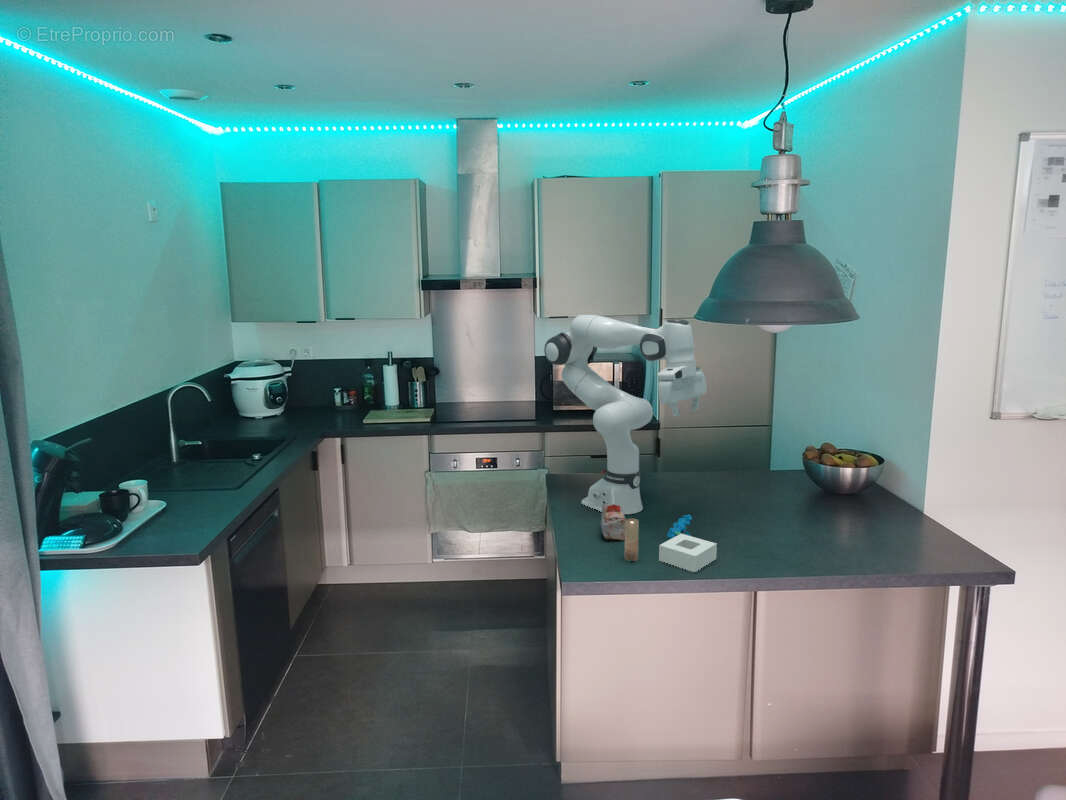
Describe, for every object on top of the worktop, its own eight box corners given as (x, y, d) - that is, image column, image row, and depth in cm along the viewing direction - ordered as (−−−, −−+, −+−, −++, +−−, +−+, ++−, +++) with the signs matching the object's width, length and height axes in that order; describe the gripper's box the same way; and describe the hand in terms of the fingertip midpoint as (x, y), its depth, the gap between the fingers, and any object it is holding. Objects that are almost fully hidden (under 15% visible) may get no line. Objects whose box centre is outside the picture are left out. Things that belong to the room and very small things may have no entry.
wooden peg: (621, 559, 212) (622, 520, 209) (629, 555, 214) (630, 517, 212) (632, 562, 209) (633, 524, 207) (640, 558, 212) (641, 520, 209)
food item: (627, 542, 224) (628, 512, 223) (602, 542, 224) (602, 512, 222) (621, 526, 238) (622, 498, 236) (597, 526, 238) (598, 498, 236)
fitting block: (658, 561, 210) (659, 545, 209) (680, 548, 218) (681, 533, 217) (694, 572, 202) (695, 556, 201) (716, 559, 210) (716, 543, 209)
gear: (667, 525, 233) (689, 507, 229) (680, 538, 233) (702, 520, 229) (663, 542, 223) (687, 524, 219) (677, 555, 223) (700, 537, 219)
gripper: (693, 365, 235) (697, 406, 237) (653, 375, 222) (657, 419, 224) (709, 365, 230) (713, 407, 232) (669, 375, 217) (673, 420, 219)
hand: (685, 413), depth 228 cm, fingers open, 8 cm apart
